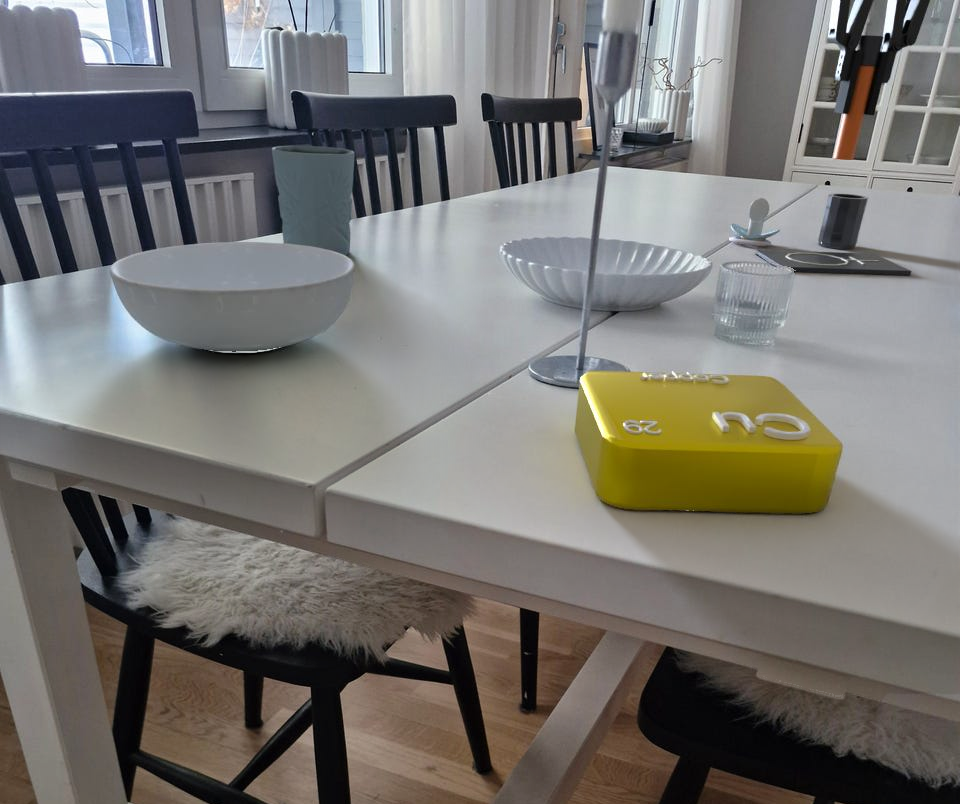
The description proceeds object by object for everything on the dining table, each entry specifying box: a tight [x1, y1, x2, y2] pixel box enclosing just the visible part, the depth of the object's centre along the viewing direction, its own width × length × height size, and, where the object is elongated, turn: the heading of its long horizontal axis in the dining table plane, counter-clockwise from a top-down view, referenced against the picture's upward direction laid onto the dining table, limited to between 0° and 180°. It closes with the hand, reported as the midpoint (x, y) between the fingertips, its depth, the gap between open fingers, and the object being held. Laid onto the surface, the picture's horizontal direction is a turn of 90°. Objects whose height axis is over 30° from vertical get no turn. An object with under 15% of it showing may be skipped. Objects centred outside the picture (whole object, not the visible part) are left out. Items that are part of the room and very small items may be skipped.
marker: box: [832, 34, 883, 161], centre depth 110 cm, size 3×3×13 cm
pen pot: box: [817, 192, 869, 250], centre depth 137 cm, size 6×6×7 cm
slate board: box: [754, 249, 913, 276], centre depth 126 cm, size 18×12×1 cm, turn 93°
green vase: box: [271, 145, 356, 256], centre depth 115 cm, size 10×10×12 cm
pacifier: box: [728, 197, 781, 247], centre depth 135 cm, size 7×6×6 cm
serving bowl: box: [109, 241, 356, 352], centre depth 81 cm, size 21×21×7 cm
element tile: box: [574, 370, 844, 515], centre depth 60 cm, size 15×15×5 cm
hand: (854, 113), depth 111 cm, fingers closed on marker, 3 cm apart
